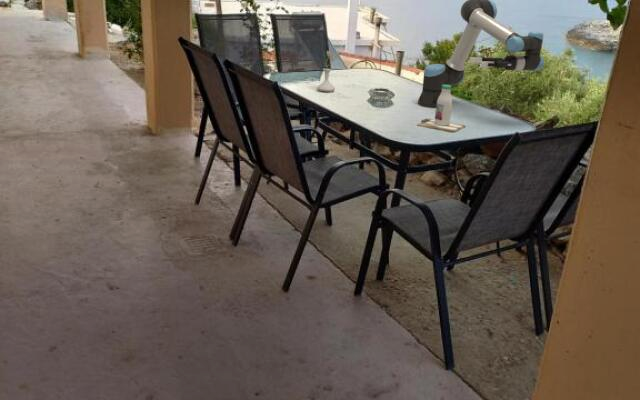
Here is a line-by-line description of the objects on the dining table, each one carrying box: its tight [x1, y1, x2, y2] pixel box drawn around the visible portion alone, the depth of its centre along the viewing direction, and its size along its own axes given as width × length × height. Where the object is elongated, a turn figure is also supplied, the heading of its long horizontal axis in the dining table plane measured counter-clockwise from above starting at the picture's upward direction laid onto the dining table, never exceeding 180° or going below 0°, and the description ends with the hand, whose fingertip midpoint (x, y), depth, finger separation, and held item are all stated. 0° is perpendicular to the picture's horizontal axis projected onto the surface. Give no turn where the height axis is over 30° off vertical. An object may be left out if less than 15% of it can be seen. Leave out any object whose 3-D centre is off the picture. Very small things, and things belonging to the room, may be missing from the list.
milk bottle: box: [434, 85, 453, 126], centre depth 300 cm, size 8×8×20 cm
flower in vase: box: [317, 50, 336, 93], centre depth 372 cm, size 13×11×25 cm
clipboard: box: [416, 118, 466, 134], centre depth 303 cm, size 16×20×2 cm
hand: (475, 62), depth 300 cm, fingers open, 13 cm apart
